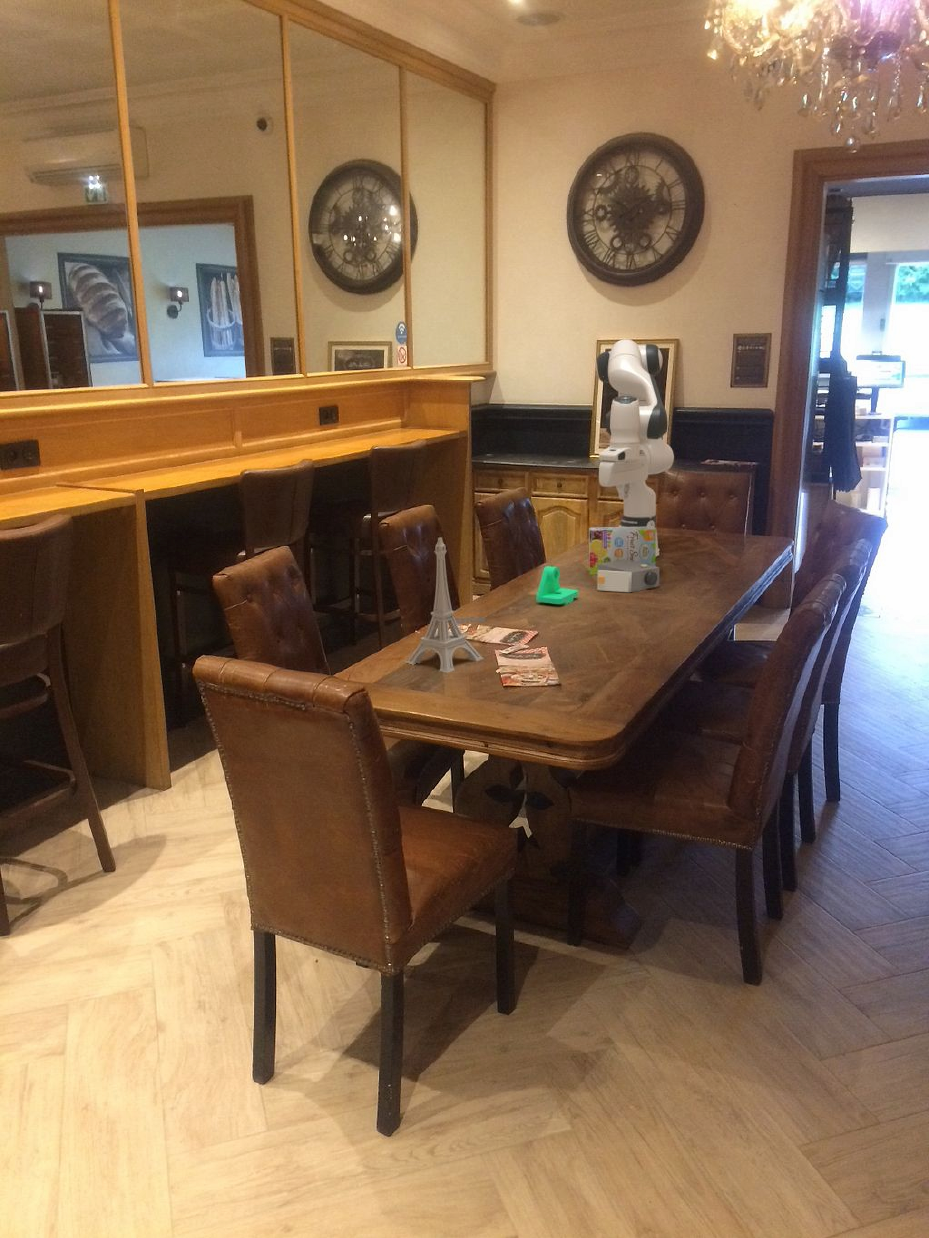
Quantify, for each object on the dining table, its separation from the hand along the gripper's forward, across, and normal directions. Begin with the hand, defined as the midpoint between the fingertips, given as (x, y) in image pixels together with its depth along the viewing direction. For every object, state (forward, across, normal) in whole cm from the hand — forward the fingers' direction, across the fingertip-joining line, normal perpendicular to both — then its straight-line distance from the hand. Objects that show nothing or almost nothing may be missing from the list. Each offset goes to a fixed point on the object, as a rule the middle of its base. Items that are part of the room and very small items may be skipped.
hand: (623, 498), depth 298 cm
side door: (+27, +8, +3) cm, 28 cm away
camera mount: (+28, +27, -3) cm, 39 cm away
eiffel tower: (+27, +89, +13) cm, 94 cm away
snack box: (+27, -15, -11) cm, 33 cm away
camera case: (+27, -2, 0) cm, 27 cm away
